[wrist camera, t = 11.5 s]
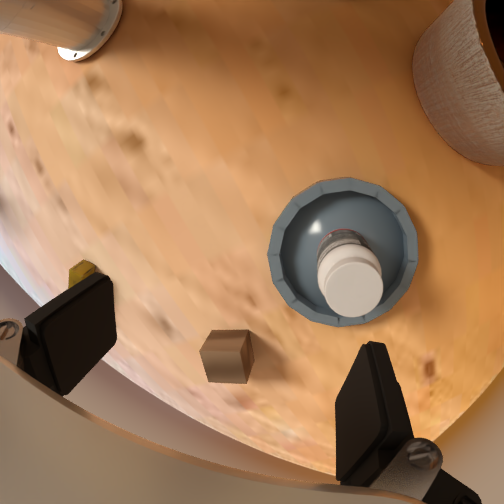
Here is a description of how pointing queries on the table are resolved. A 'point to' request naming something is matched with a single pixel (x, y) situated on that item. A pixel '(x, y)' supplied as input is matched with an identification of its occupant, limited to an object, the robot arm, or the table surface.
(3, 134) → the table surface
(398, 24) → the table surface
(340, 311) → the pill bottle
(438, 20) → the planter
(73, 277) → the medication box
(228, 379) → the walnut block
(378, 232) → the dish
